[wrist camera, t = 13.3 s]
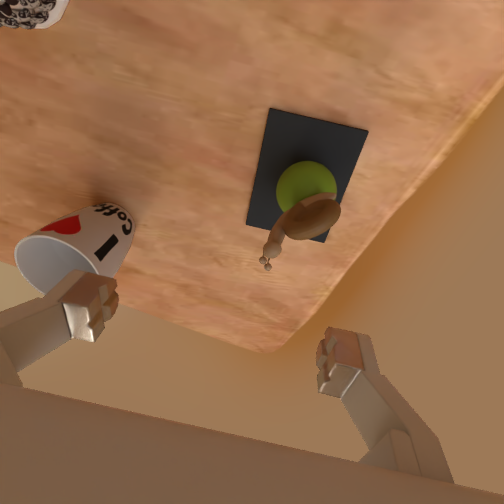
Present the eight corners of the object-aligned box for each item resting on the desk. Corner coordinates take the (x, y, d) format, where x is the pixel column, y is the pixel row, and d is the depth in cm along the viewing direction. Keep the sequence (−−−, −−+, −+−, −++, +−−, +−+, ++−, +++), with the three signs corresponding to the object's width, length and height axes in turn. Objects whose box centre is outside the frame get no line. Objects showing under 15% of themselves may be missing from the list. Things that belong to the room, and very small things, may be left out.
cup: (158, 218, 34) (114, 269, 26) (132, 261, 38) (87, 318, 30) (92, 176, 32) (22, 217, 24) (73, 226, 36) (7, 276, 28)
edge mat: (269, 107, 26) (269, 108, 26) (368, 130, 26) (368, 131, 26) (246, 223, 33) (245, 224, 33) (324, 241, 33) (324, 243, 33)
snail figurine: (259, 176, 29) (240, 238, 19) (318, 142, 27) (330, 192, 17) (286, 219, 32) (280, 293, 22) (342, 190, 29) (366, 260, 19)
